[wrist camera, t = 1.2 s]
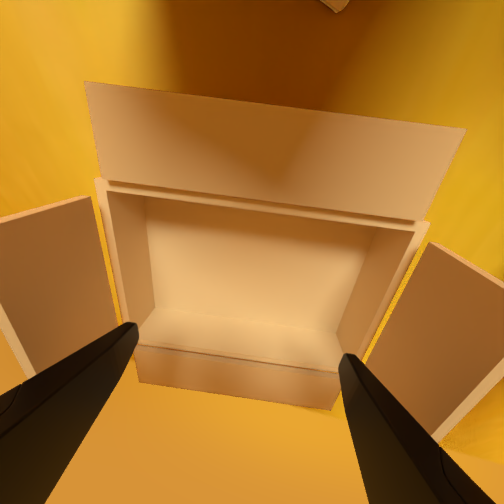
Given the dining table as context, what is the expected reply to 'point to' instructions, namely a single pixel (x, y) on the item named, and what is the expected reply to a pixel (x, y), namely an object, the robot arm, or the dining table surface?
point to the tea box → (336, 4)
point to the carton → (257, 234)
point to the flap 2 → (442, 340)
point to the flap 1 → (53, 283)
